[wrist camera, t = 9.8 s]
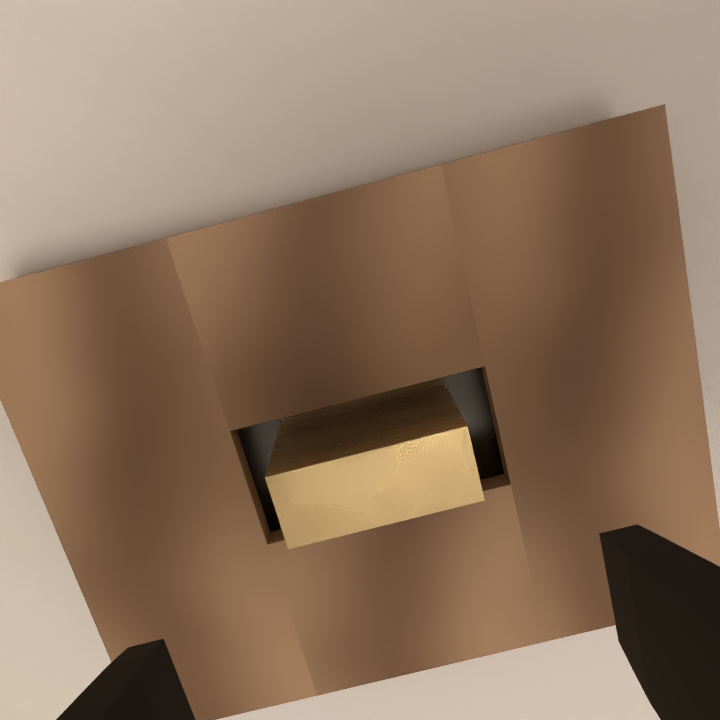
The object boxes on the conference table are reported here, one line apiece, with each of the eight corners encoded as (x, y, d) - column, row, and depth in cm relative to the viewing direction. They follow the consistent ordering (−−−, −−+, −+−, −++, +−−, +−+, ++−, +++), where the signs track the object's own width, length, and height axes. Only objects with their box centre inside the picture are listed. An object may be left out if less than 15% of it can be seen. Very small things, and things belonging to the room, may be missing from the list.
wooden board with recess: (612, 119, 18) (664, 104, 15) (676, 544, 21) (728, 598, 19) (16, 279, 19) (-44, 294, 16) (169, 666, 22) (143, 736, 19)
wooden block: (437, 370, 20) (467, 425, 15) (451, 428, 20) (484, 500, 16) (283, 410, 20) (264, 477, 15) (301, 466, 21) (288, 549, 16)
